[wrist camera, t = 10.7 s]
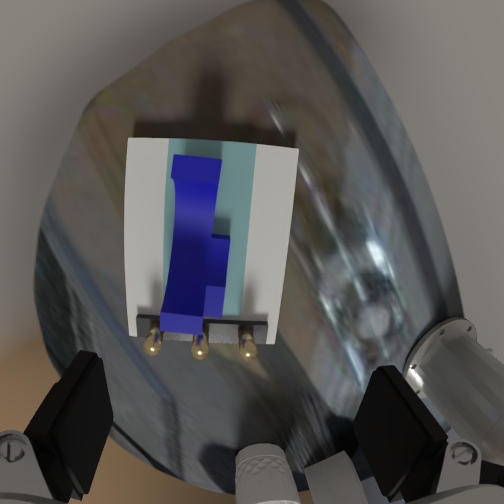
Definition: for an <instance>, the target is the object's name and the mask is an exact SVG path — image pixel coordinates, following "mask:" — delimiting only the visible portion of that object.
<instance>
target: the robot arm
mask: <svg viewBox="0 0 504 504" xmlns="http://www.w3.org/2000/svg"><path fill="white" fill-rule="evenodd" d="M426 397H428V398H429V400H430V401H431V402H432V403H433V405H434V406H435V407H436V408H437V410H438V411H439V412H440V413H441V415H442V416H443V417H444V419H445V420H446V421H447V422H448V424H449V425H450V426H451V428H452V429H453V430H454V431H455V433H456V434H457V435H458V437H459V438H460V439H455V440H453V441H451V442H450V443H448V442H447V441H446V440H447V438H448V436H447V434H446V433H445V432H444V430H443V429H442V427H441V426H440V425H439V423H438V422H437V421H436V419H435V418H434V417H433V415H432V414H431V413H430V411H429V410H428V409H427V407H426V406H425V405H424V403H423V402H422V401H421V399H420V398H426ZM112 423H113V411H112V406H111V402H110V397H109V392H108V388H107V382H106V377H105V372H104V366H103V361H102V358H99V357H98V355H97V353H94V352H89V351H83V350H80V351H79V352H78V354H77V355H76V357H75V358H74V359H73V361H72V362H71V364H70V365H69V367H68V368H67V370H66V371H65V373H64V374H63V376H62V377H61V379H60V380H59V382H57V383H55V384H54V385H53V387H52V388H51V390H50V391H49V393H48V394H47V396H46V397H45V399H44V400H43V402H42V404H41V405H40V407H39V408H38V410H37V411H36V413H35V415H34V416H33V418H32V419H31V421H30V423H29V424H28V426H27V428H26V429H25V431H24V433H21V432H19V431H14V430H6V431H3V432H0V504H67V503H68V502H69V500H70V497H71V498H74V499H77V500H80V501H81V500H82V497H83V494H88V493H89V490H90V487H91V484H92V481H93V478H94V475H95V472H96V469H97V465H98V463H99V460H100V457H101V454H102V451H103V448H104V445H105V443H106V440H107V437H108V434H109V431H110V429H111V426H112ZM353 431H354V433H355V435H356V437H357V440H358V442H359V444H360V446H361V448H362V451H363V453H364V455H365V457H366V459H367V462H368V464H369V466H370V468H371V471H372V473H373V475H374V477H375V479H376V482H377V484H378V486H379V489H380V491H381V493H382V495H383V496H385V497H386V496H387V498H388V501H389V503H391V502H394V501H398V500H401V499H404V500H405V504H504V364H502V363H501V362H500V361H499V360H497V358H495V357H494V356H493V350H492V349H491V348H488V349H485V348H483V347H482V346H481V345H480V344H479V343H477V333H476V329H475V327H474V325H473V324H472V323H471V322H470V321H468V320H467V319H465V318H462V317H453V318H449V319H446V320H444V321H442V322H441V323H439V324H437V325H436V326H435V327H433V328H432V329H431V330H430V331H428V332H427V333H426V334H425V335H424V336H423V337H422V339H421V340H420V341H419V342H418V343H417V345H416V346H415V347H414V349H413V350H412V352H411V354H410V356H409V357H408V360H407V362H406V364H405V368H404V372H403V376H402V374H401V373H400V372H399V371H398V369H397V368H396V367H395V366H394V365H388V366H379V367H378V368H377V369H376V370H375V371H373V373H372V375H371V378H370V381H369V384H368V386H367V389H366V392H365V394H364V397H363V400H362V402H361V405H360V407H359V410H358V412H357V415H356V417H355V419H354V422H353Z"/></svg>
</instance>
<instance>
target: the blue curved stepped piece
mask: <svg viewBox="0 0 504 504" xmlns="http://www.w3.org/2000/svg"><path fill="white" fill-rule="evenodd" d="M221 165H222V159H215V158H206V157H198V156H189V155H179V154H173V162H172V169H171V178H172V179H173V181H174V187H175V216H174V230H173V240H172V250H171V258H170V266H169V273H168V279H167V285H166V291H165V296H164V300H163V304H162V308H161V311H160V331H167V332H175V333H183V334H192V335H202V325H203V316H207V317H217V318H222V313H223V305H224V297H225V289H226V278H227V267H228V257H229V249H230V241H231V239H230V236H227V235H219V234H212V229H213V221H214V213H215V206H216V199H217V192H218V185H219V179H220V172H221Z"/></svg>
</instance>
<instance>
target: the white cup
mask: <svg viewBox="0 0 504 504" xmlns="http://www.w3.org/2000/svg"><path fill="white" fill-rule="evenodd" d="M236 504H302V503H301V500H300V497H299V494H298V491H297V488H296V484H295V481H294V478H293V476H292V473H291V470H290V467H289V465H288V464H287V460H286V457H285V453H284V450H282V449H281V448H280V447H279V446H277V445H274V444H270V443H258V444H254V445H250V446H247V447H245V448H244V449H242V450H240V451H239V453H238V454H237V456H236Z"/></svg>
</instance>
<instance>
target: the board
mask: <svg viewBox="0 0 504 504" xmlns="http://www.w3.org/2000/svg"><path fill="white" fill-rule="evenodd" d="M298 152H299V149H295V148H287V147H279V146H270V145H261V144H253V143H242V142H230V141H216V140H200V139H178V138H128V147H127V161H126V179H125V209H124V250H125V280H126V298H127V312H128V325H129V335H130V336H137V328H136V316H137V314H146V315H158V316H160V311H161V308H162V304H163V300H164V296H165V291H166V285H167V279H168V273H169V266H170V258H171V250H172V240H173V230H174V216H175V187H174V181H173V179H172V178H171V169H172V162H173V154H179V155H189V156H198V157H206V158H215V159H222V165H221V172H220V179H219V185H218V192H217V199H216V206H215V213H214V221H213V229H212V234H219V235H227V236H230V239H231V241H230V249H229V257H228V267H227V278H226V289H225V297H224V305H223V313H222V318H217V317H207V316H203V319H218V320H241V321H267V322H268V325H269V326H268V333H267V341H266V344H275V338H276V331H277V324H278V317H279V310H280V303H281V296H282V288H283V281H284V273H285V266H286V258H287V250H288V242H289V234H290V225H291V217H292V208H293V199H294V190H295V181H296V172H297V162H298Z"/></svg>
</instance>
